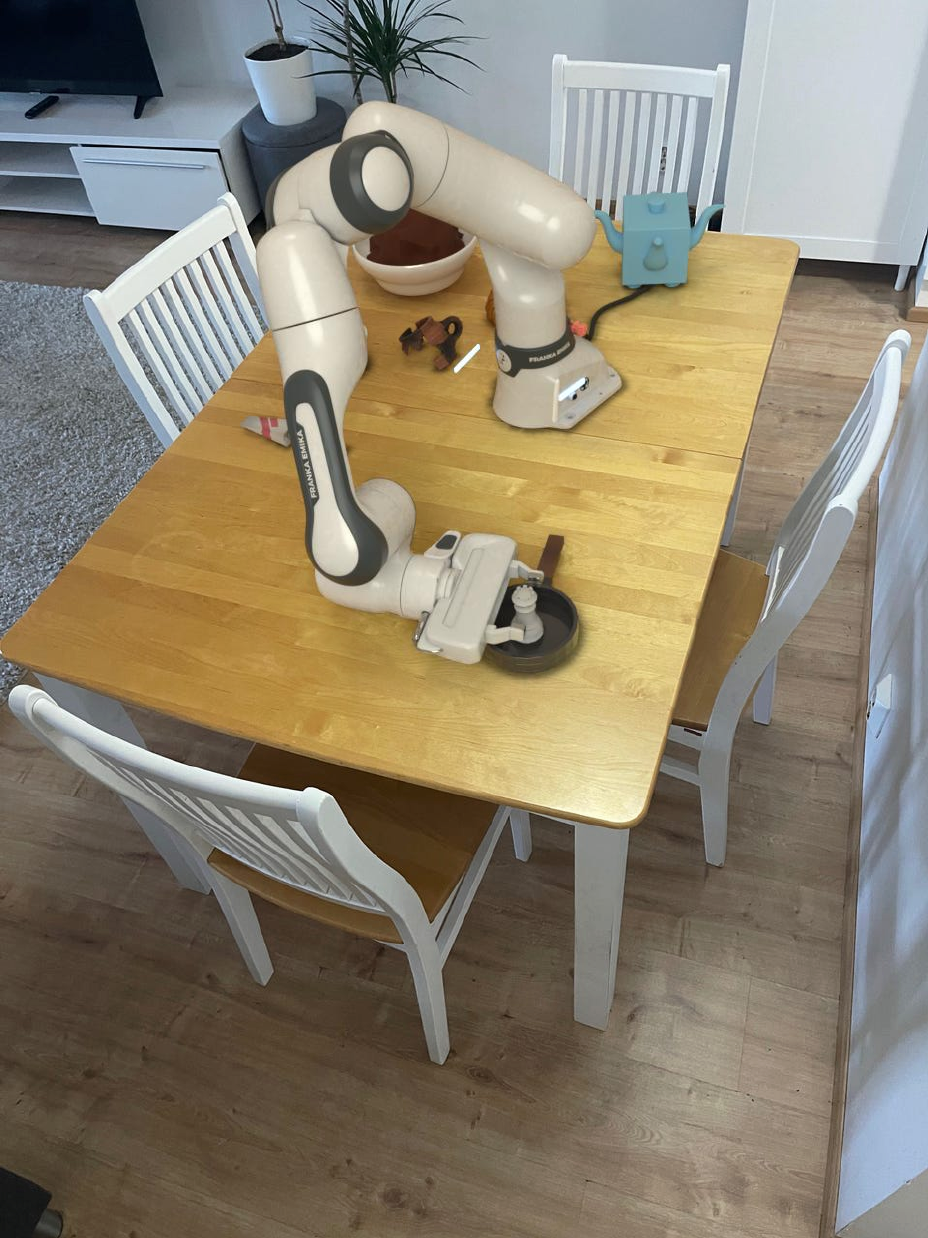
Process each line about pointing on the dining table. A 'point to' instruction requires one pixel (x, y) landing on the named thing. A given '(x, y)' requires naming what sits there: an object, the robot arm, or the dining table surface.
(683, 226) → the teakettle
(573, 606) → the pan
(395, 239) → the white bowl
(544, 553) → the pan handle
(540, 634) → the rook chess piece
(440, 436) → the dining table surface
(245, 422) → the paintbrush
